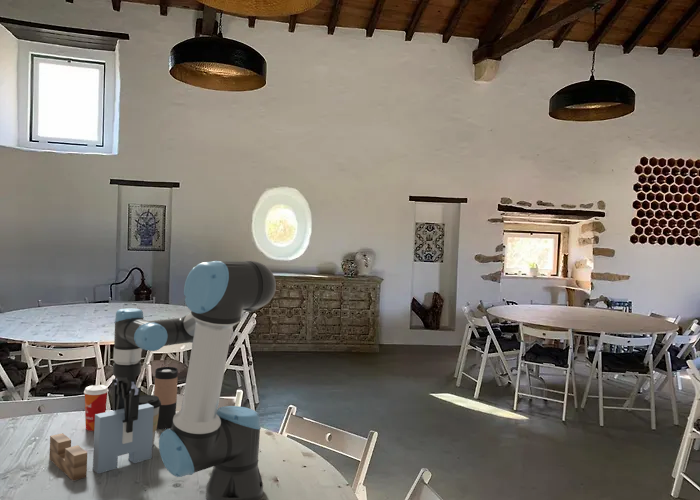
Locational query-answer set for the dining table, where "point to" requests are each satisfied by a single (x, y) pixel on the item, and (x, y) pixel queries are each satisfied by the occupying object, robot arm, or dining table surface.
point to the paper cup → (94, 403)
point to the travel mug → (166, 395)
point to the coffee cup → (156, 403)
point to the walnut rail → (68, 457)
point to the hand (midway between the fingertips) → (123, 440)
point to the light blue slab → (111, 438)
